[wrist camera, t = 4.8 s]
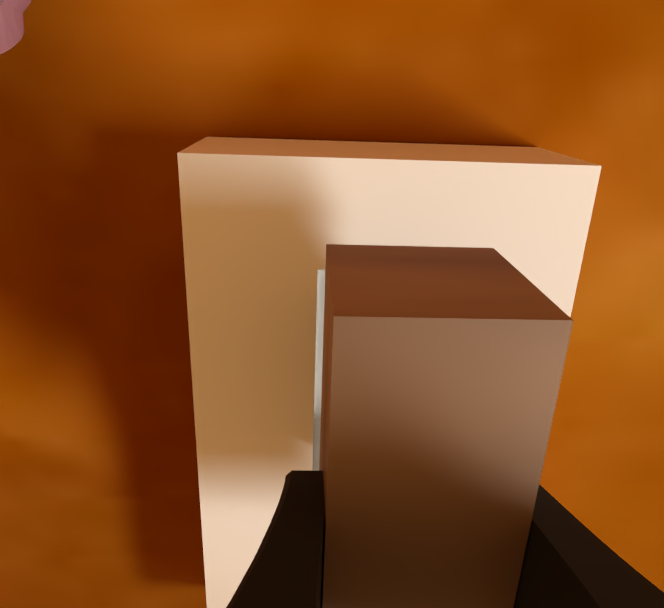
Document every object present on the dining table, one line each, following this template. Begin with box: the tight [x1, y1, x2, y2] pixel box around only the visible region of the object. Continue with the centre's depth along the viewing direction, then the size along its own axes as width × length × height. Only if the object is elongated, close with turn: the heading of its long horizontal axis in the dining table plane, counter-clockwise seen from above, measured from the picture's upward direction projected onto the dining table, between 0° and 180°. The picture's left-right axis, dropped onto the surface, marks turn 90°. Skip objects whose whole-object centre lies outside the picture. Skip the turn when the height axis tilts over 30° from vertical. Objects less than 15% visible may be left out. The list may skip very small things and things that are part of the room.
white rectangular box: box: [177, 137, 601, 608], centre depth 18 cm, size 18×10×4 cm, turn 178°
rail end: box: [319, 244, 573, 608], centre depth 12 cm, size 9×3×6 cm, turn 178°
